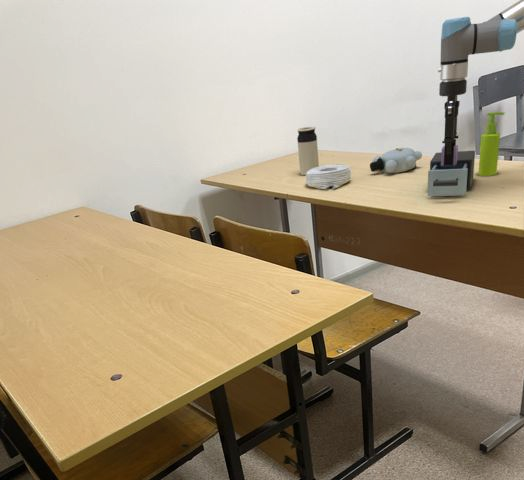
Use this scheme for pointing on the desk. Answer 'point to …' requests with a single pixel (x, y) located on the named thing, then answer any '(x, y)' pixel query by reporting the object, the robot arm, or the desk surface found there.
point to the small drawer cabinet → (461, 158)
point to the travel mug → (307, 149)
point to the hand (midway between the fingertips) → (449, 162)
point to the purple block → (453, 158)
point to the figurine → (396, 160)
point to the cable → (328, 176)
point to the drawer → (448, 180)
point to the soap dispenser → (489, 147)
